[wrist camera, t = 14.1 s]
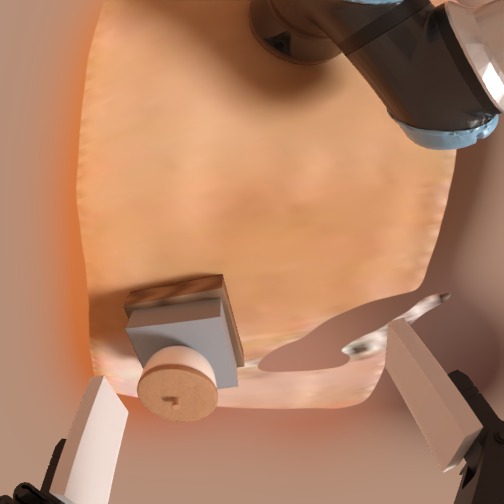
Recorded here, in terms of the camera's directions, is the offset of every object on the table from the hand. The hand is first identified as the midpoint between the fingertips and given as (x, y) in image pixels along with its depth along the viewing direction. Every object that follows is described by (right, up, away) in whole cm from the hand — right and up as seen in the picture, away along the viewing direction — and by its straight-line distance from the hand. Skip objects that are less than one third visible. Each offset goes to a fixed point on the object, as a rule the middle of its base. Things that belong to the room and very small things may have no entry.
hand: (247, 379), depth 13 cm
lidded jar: (-10, -11, +31) cm, 34 cm away
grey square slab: (-10, -9, +36) cm, 38 cm away
